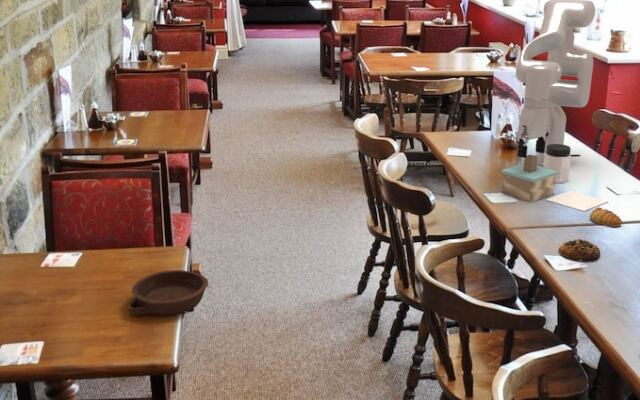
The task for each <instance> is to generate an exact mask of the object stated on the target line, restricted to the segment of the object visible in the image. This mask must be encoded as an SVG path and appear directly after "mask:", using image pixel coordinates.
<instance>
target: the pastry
mask: <svg viewBox="0 0 640 400" xmlns="http://www.w3.org/2000/svg"><path fill="white" fill-rule="evenodd" d="M589 218H590V220H591V221H592V222H594V223H595V224H598V225H602V226H604V225H605V226H604V227H610V228H617V227H621V225H622V223H623V221H622V219H621V217H620V216H619V215H617V214H616V213H614V212H613V211H612V210H609V209H607V208H606V209H605V208H604V209H603V208H602V207H600V206H597V207H595V208H593V209H592V211H591V212H590V214H589Z"/></svg>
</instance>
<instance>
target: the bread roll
mask: <svg viewBox="0 0 640 400" xmlns="http://www.w3.org/2000/svg"><path fill="white" fill-rule="evenodd" d="M558 253H559V254H560V255H561V256H562V257H563V256H564V257H563V258H567V259H568V258H570V260H571V259H575V260H574V261H576V260H582V261H592V262H594V261H593V260H595V261H597V260H598V259H599V257H600V255H601V250H600V248H599V247H598V246H597V245H596V244H595V243H592V242H591V241H588V240H586V239H580V238H579V239H574V240H569V241H566V242H564V243H562V244H561V245H560V246H559V247H558ZM597 258H598V259H597Z"/></svg>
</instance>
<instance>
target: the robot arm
mask: <svg viewBox="0 0 640 400" xmlns="http://www.w3.org/2000/svg"><path fill="white" fill-rule="evenodd" d="M543 15H544V16H543V19H542V23H541V27H540V31H539V35H537V36H536V37H534V38H532V39H531V40H530V41H529V42H528V43H527V44H526V45H524V46H523V48H522V50H521V51H520V54H519V56H518V57H519V58H518V60H517V65H516V68H515V76H516V79H517V81H518V82H519V83H522V84H524V83H525V86H524V87H525V89H524V97H523V107H522V109H521V111H520V116H519V121H518V128H517V131H516V133H515V134H514V136H515V141H516V145H517V146H518V147H517V157H518V158H523V159H524V158H526V157H527V155H528V143H529V141H530V140H534V139H536V142H535V156H538V158H537V166H540V167H543V166H544V156H545V153H546V147H547V145H550V144H562V145H565V144H564V143H565V132H566V124H567V116H566V113H565V111H564V110H563V108H562V107H570V108H571V107H572V108H584V107H586V105H588V102H589V99H590V94H591V93H590V92H591V87H592V86H591V85H592V78H593V77H592V76H593V69H594V57H593V54H592V53H591V52H590V51H589V50H582V49H574V44H575V32H574V31H573V29H572V28H587V27H589V26H590V25H591V24H592V22H593V21H594V18H595V16H596V6H595V4H594V2H593V1H592V0H548V1H546V2H544V6H543ZM544 53H547V60H534V59H533V58H534V57H536V56H539V55H541V54H544ZM563 76H564V77H575V78H577V80H574V79H573V80H571V79H563V78H562V77H563ZM561 78H562V79H561Z"/></svg>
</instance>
